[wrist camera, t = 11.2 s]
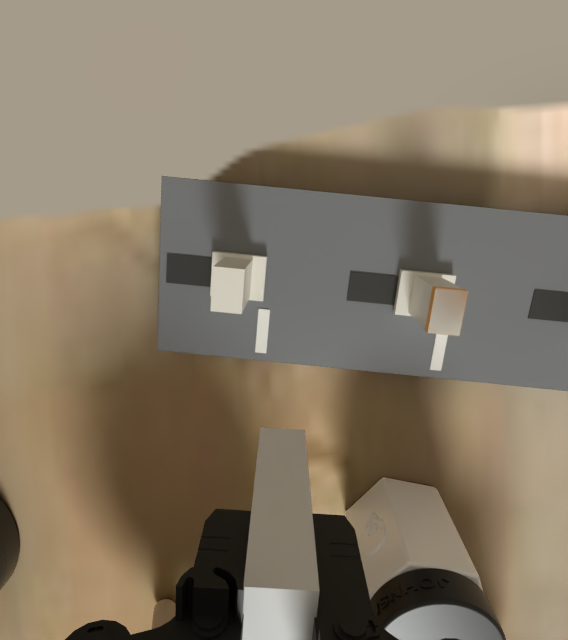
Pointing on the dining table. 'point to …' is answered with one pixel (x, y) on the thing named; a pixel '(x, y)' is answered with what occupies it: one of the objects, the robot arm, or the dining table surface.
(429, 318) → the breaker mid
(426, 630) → the jar
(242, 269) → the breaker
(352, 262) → the panel
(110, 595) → the dining table surface
